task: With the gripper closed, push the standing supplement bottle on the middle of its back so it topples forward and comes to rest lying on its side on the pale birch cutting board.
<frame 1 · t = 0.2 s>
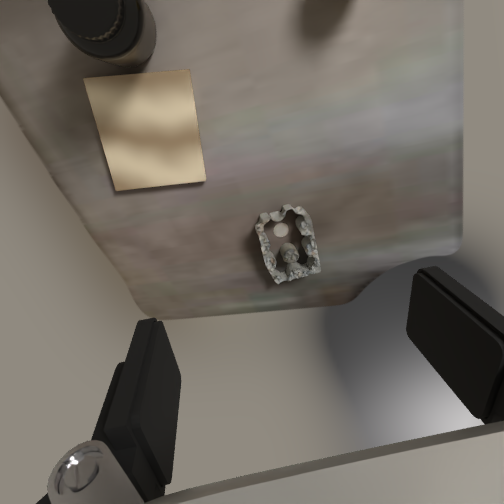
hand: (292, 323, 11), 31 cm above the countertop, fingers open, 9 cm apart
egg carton: (284, 238, 45), on the countertop
cutting board: (151, 133, 36), on the countertop
supplement bottle: (124, 29, 31), on the countertop
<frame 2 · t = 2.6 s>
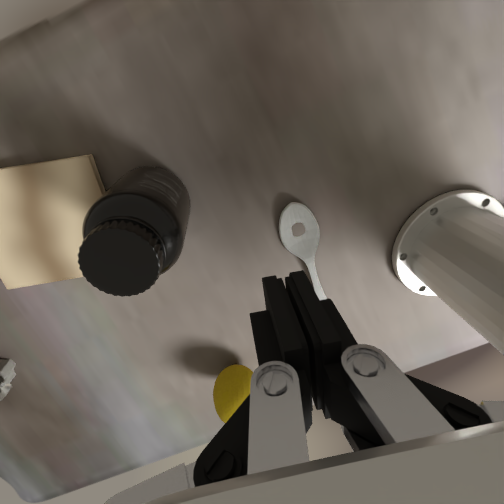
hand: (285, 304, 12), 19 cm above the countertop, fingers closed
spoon: (313, 278, 35), on the countertop
cutting board: (49, 224, 29), on the countertop
lemon: (234, 365, 40), on the countertop
supplement bottle: (154, 201, 29), on the countertop
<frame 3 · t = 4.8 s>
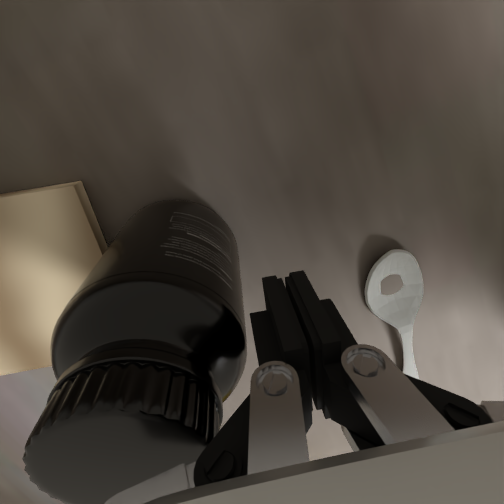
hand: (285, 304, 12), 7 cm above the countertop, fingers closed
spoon: (399, 344, 25), on the countertop
cutting board: (16, 288, 18), on the countertop
supplement bottle: (181, 250, 19), on the countertop, touching gripper
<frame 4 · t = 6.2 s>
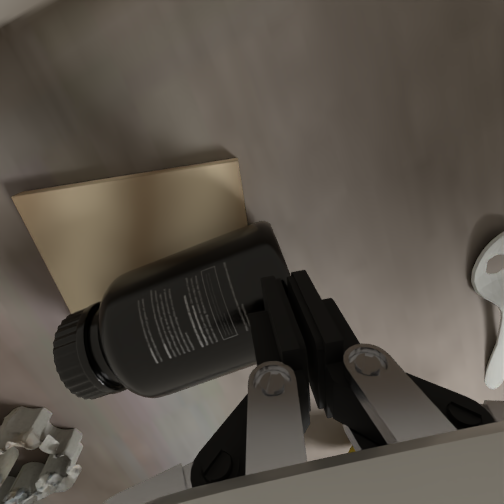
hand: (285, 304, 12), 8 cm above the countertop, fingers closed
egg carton: (23, 440, 27), on the countertop
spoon: (489, 326, 26), on the countertop
cutting board: (157, 260, 20), on the countertop
supplement bottle: (295, 277, 16), point 4 cm above the countertop, touching cutting board, gripper
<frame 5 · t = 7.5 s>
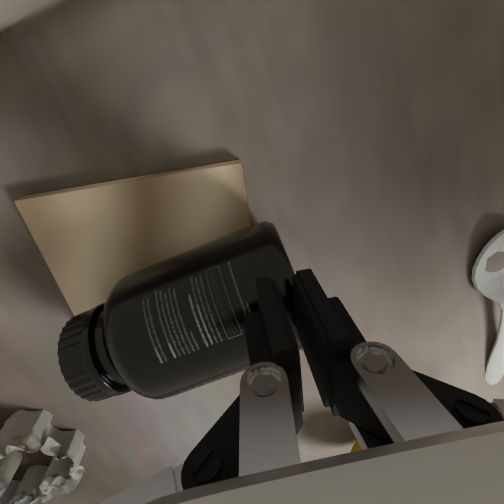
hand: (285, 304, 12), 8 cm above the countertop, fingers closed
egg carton: (26, 443, 27), on the countertop
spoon: (489, 323, 26), on the countertop
cutting board: (160, 262, 20), on the countertop
supplement bottle: (299, 277, 16), point 4 cm above the countertop, touching cutting board, gripper
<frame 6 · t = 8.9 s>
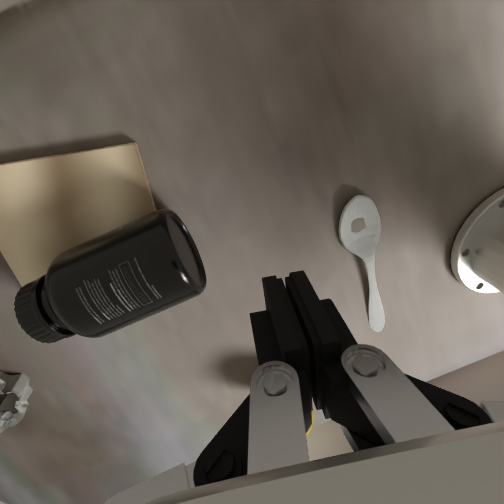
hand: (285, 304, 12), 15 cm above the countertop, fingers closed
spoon: (366, 277, 33), on the countertop
cutting board: (81, 225, 25), on the countertop
supplement bottle: (191, 247, 22), point 4 cm above the countertop, touching cutting board
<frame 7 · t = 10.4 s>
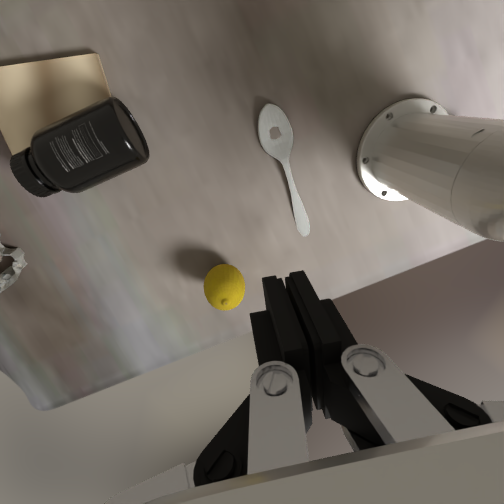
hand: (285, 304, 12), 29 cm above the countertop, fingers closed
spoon: (289, 184, 41), on the countertop
cutting board: (61, 120, 34), on the countertop
lemon: (223, 270, 45), on the countertop
supplement bottle: (135, 128, 31), point 4 cm above the countertop, touching cutting board
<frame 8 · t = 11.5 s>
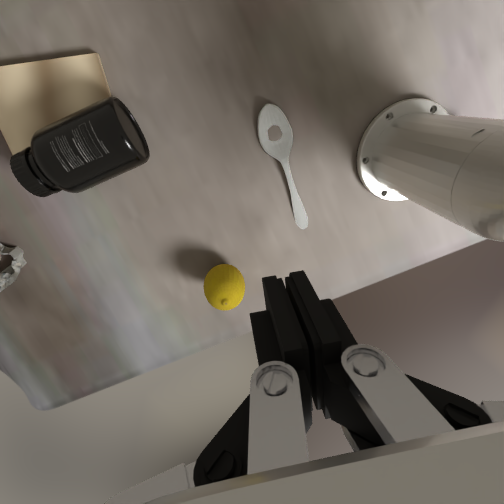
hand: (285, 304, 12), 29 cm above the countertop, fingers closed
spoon: (289, 183, 41), on the countertop
cutting board: (61, 120, 34), on the countertop
lemon: (223, 270, 45), on the countertop
supplement bottle: (135, 128, 31), point 4 cm above the countertop, touching cutting board
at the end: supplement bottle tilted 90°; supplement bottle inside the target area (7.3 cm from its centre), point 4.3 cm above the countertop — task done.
